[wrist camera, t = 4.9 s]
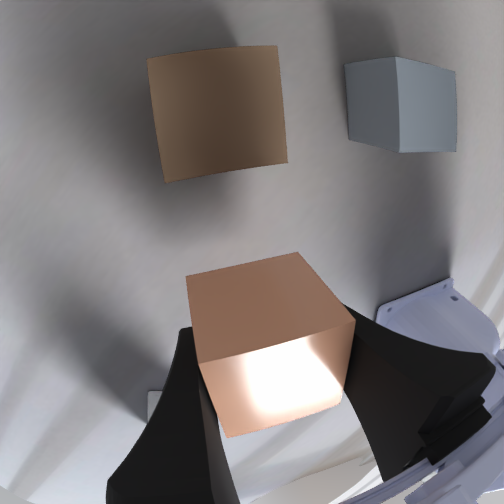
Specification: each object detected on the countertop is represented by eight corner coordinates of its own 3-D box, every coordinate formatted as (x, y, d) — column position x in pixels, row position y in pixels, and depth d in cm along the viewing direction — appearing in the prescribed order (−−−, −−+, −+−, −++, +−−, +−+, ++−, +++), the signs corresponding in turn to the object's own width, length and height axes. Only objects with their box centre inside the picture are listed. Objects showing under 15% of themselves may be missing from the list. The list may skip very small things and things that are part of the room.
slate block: (401, 71, 14) (454, 71, 10) (404, 138, 16) (456, 151, 12) (343, 64, 13) (395, 56, 9) (348, 139, 15) (399, 152, 12)
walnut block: (246, 63, 12) (277, 45, 9) (255, 148, 15) (287, 163, 11) (154, 75, 12) (146, 58, 8) (166, 163, 14) (164, 183, 10)
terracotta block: (297, 251, 12) (355, 320, 8) (299, 333, 14) (339, 403, 10) (185, 276, 11) (198, 363, 7) (207, 356, 13) (226, 438, 9)
